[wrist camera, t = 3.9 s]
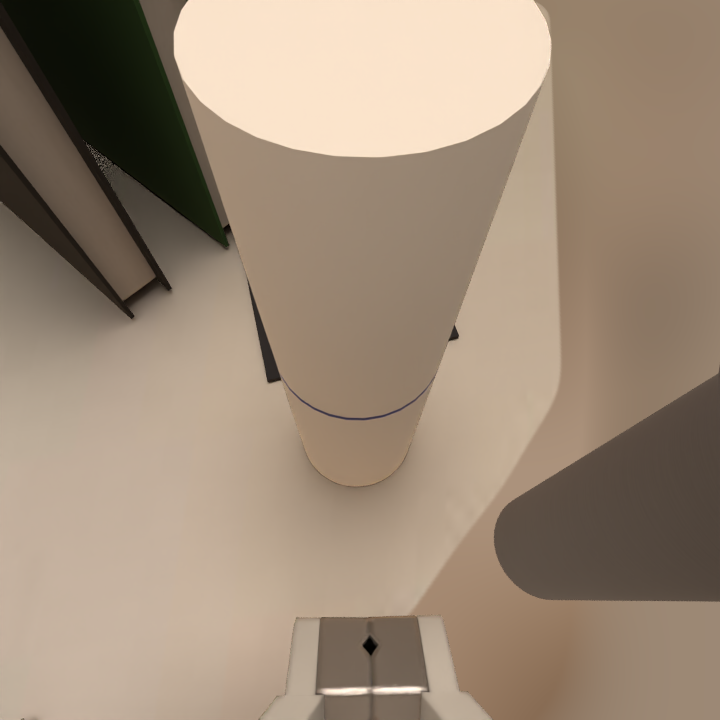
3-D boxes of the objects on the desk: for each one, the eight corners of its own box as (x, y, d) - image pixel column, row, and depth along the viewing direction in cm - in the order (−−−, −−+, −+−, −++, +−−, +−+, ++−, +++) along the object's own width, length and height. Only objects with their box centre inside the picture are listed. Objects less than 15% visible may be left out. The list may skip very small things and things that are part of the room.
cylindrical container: (281, 452, 31) (89, 68, 8) (336, 365, 34) (302, -94, 11) (379, 508, 29) (459, 220, 7) (428, 412, 32) (598, -11, 10)
